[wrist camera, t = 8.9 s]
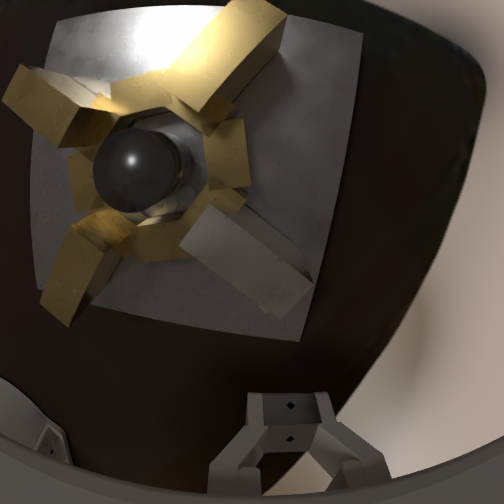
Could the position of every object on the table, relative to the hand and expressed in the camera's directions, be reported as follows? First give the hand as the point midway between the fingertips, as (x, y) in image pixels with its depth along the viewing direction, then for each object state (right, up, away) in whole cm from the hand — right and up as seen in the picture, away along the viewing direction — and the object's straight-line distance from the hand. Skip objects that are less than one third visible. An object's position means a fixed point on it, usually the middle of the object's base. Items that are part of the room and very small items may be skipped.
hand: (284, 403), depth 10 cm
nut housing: (-7, +12, +9) cm, 16 cm away
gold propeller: (-7, +11, +7) cm, 15 cm away
